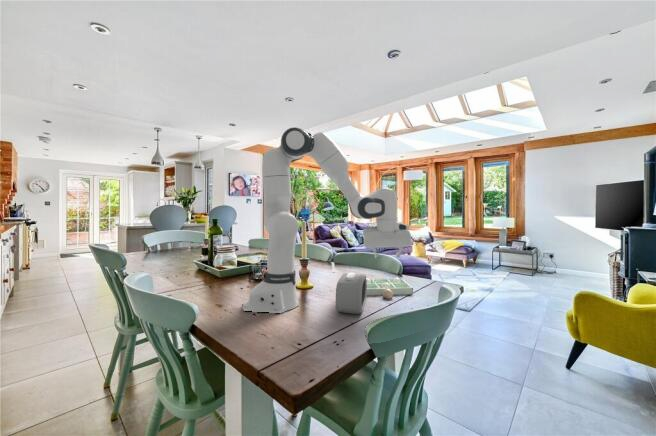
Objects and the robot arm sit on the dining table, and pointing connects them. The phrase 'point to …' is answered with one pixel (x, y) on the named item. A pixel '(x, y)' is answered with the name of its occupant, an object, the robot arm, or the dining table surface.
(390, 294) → the brown egg
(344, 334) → the dining table surface
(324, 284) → the dining table surface
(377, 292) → the egg tray
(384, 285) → the cream egg
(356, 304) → the alarm clock
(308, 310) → the dining table surface
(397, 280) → the cream egg
